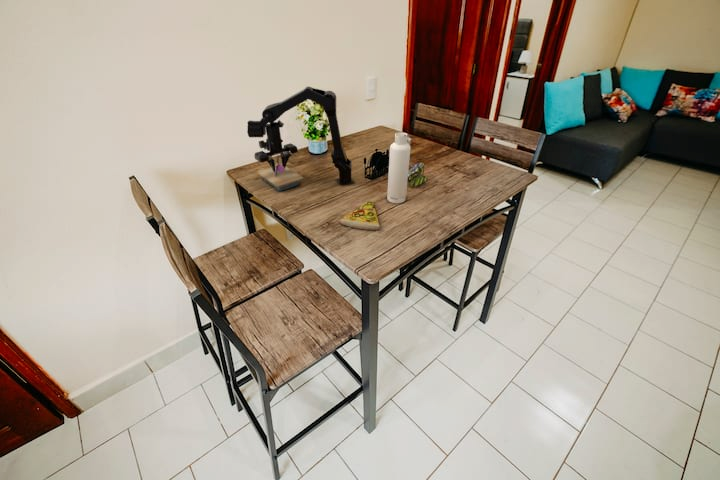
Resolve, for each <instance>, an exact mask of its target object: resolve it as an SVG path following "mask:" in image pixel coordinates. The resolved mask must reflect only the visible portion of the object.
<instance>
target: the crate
mask: <svg viewBox="0 0 720 480" xmlns="http://www.w3.org/2000/svg"><path fill="white" fill-rule="evenodd" d="M262 180H264V181H265V182H266V183H267V184H269V185H270V186H271V187H273V188H274V189H276V190H277V191H278V192H282V191H285V190H288V189H291V188H294V187H297V186H299V185H300V183H299V182H300V181H297V182H294V183H291V184H288V185H285V186H282V187H279V188H278V187H276V186H275V185H273V184H272V183H271V182H269V181H268V180H266V179H265V178H264V177H262Z"/></svg>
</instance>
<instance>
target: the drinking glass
mask: <svg viewBox="0 0 720 480" xmlns="http://www.w3.org/2000/svg"><path fill="white" fill-rule="evenodd" d="M407 143H408V144H409V145H410V146H411V143H412V138H411V137H409V136H407Z"/></svg>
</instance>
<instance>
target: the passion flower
mask: <svg viewBox="0 0 720 480" xmlns="http://www.w3.org/2000/svg"><path fill="white" fill-rule="evenodd" d="M413 163H414V162H409V170H408V180H407V181H410V183H409V185H410V187H411V188H414V187H417V186H421V184H422V183H423V184H425V182H429V179H428V176H427V175H424V173H425V163H423V162H417V163H415V164H414V165H413V166H411V165H412V164H413ZM413 186H414V187H413Z"/></svg>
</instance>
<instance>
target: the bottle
mask: <svg viewBox="0 0 720 480" xmlns="http://www.w3.org/2000/svg"><path fill="white" fill-rule="evenodd" d="M407 137H408V133H406V132H400V131H399V132H396V133H395V134H394V142H392V143H391V144H390V146H389V159H388V177H387V191H386V192H387V193H386V199H387V201H388V202H389V203H393V204H401V203H404V202H405V201H406V199H407V189H408V181H409V180H408V170H410V167H409V164H410V158H411V148H412V147H411V144H410V145H409V144H408V143H407Z"/></svg>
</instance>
